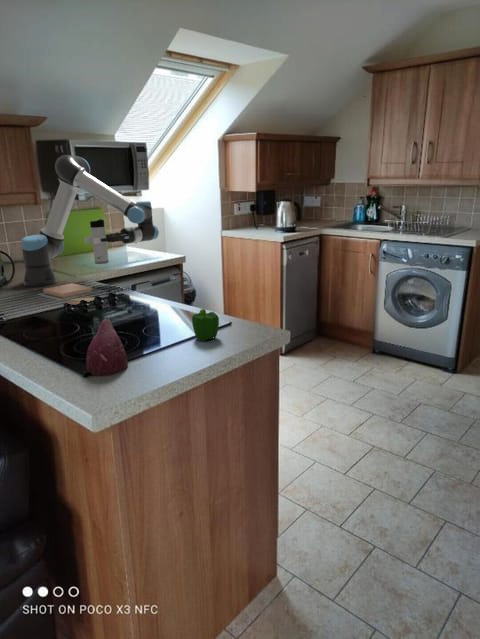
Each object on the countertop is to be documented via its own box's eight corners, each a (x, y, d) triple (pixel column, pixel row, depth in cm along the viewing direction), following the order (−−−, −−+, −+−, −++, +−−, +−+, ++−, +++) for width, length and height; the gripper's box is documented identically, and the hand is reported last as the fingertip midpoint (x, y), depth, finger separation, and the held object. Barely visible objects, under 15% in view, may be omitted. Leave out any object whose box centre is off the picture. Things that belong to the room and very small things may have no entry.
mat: (80, 286, 222) (80, 285, 222) (104, 291, 210) (104, 290, 209) (36, 295, 206) (36, 294, 206) (60, 301, 193) (59, 300, 193)
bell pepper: (205, 332, 149) (204, 302, 146) (224, 337, 144) (223, 306, 141) (186, 339, 143) (184, 308, 140) (206, 344, 138) (204, 312, 135)
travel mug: (99, 264, 212) (94, 220, 207) (92, 263, 217) (86, 219, 211) (111, 262, 217) (106, 219, 211) (104, 261, 221) (99, 218, 215)
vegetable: (102, 371, 128) (98, 317, 128) (135, 370, 125) (131, 315, 125) (78, 377, 118) (73, 318, 118) (112, 376, 115) (108, 315, 115)
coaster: (69, 300, 195) (68, 298, 195) (98, 298, 197) (98, 296, 197) (64, 307, 184) (63, 305, 183) (95, 305, 186) (95, 303, 185)
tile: (71, 283, 216) (43, 288, 206) (91, 287, 206) (62, 293, 196) (72, 287, 217) (43, 293, 206) (91, 292, 207) (63, 298, 196)
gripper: (143, 244, 222) (102, 250, 205) (119, 242, 234) (78, 247, 217) (142, 228, 220) (100, 233, 203) (117, 226, 232) (76, 231, 215)
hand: (89, 240), depth 210 cm, fingers closed on travel mug, 6 cm apart
